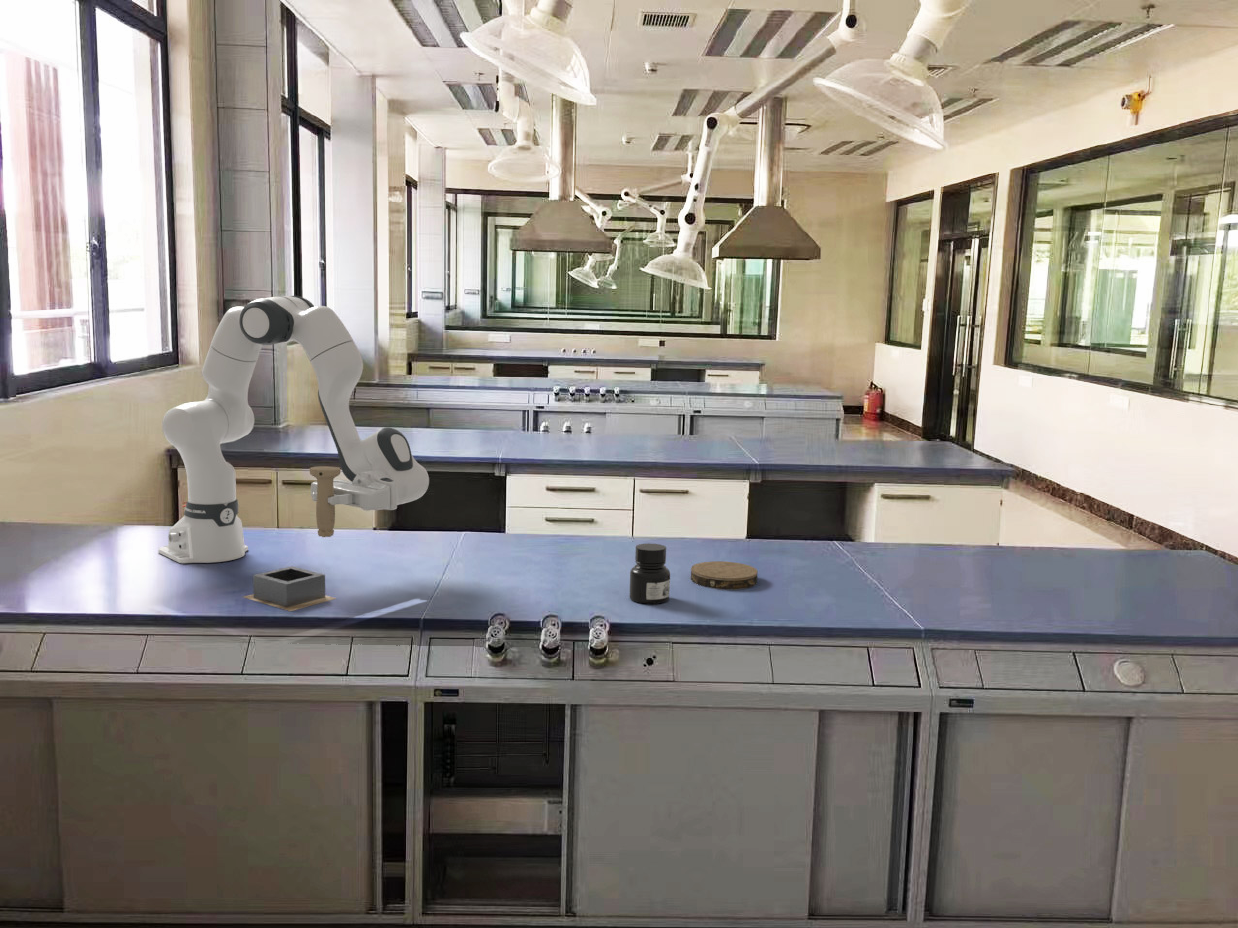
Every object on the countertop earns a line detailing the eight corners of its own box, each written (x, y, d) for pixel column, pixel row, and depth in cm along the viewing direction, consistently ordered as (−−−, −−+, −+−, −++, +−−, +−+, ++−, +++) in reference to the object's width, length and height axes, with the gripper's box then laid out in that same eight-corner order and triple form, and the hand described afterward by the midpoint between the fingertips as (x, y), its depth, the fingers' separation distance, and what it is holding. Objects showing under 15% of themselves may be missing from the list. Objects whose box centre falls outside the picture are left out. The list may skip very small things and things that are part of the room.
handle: (335, 539, 226) (335, 471, 224) (307, 537, 227) (306, 469, 225) (344, 534, 231) (343, 467, 229) (316, 532, 232) (315, 465, 229)
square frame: (253, 597, 223) (253, 575, 222) (292, 588, 231) (291, 566, 230) (286, 607, 217) (286, 584, 216) (325, 597, 225) (324, 574, 224)
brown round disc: (700, 570, 261) (701, 558, 261) (763, 577, 256) (764, 565, 256) (682, 585, 247) (683, 573, 246) (748, 594, 241) (749, 581, 241)
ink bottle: (655, 607, 227) (657, 554, 226) (621, 600, 232) (622, 548, 230) (677, 597, 236) (679, 545, 234) (643, 591, 240) (645, 540, 238)
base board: (242, 601, 224) (242, 596, 224) (289, 589, 234) (288, 585, 233) (290, 615, 215) (290, 611, 215) (336, 602, 225) (336, 598, 224)
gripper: (339, 471, 243) (290, 478, 232) (401, 482, 232) (353, 491, 221) (339, 497, 244) (291, 506, 233) (401, 510, 233) (353, 520, 222)
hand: (322, 499), depth 227 cm, fingers closed on handle, 3 cm apart
